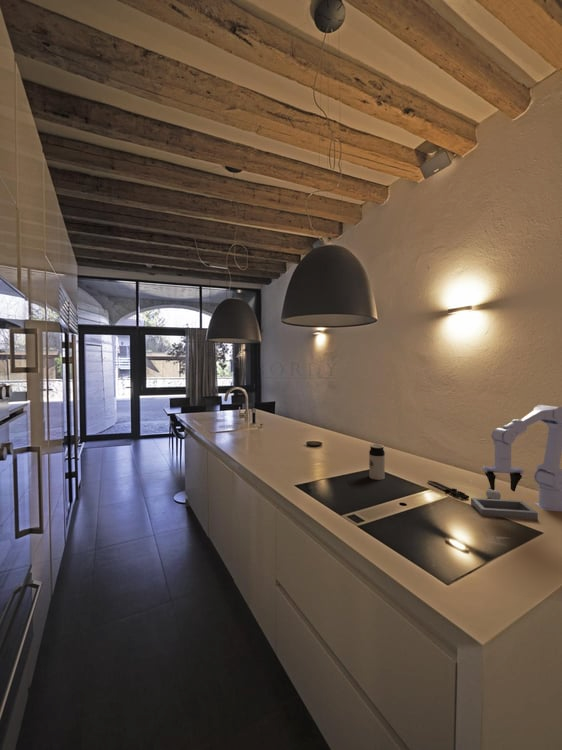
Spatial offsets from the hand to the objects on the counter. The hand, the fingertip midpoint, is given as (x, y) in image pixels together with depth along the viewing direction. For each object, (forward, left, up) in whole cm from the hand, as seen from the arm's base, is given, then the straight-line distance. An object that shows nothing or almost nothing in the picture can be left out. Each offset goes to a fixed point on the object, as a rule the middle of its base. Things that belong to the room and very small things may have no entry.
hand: (502, 490), depth 139 cm
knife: (+19, -18, -12) cm, 29 cm away
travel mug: (+47, -35, -10) cm, 59 cm away
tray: (0, 0, -9) cm, 9 cm away
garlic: (-2, -14, -10) cm, 17 cm away
